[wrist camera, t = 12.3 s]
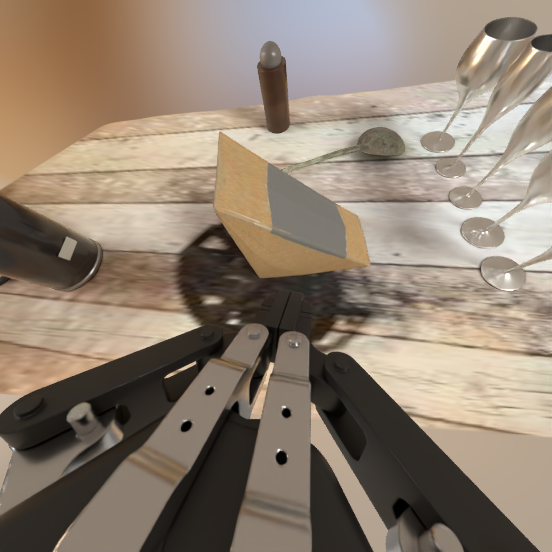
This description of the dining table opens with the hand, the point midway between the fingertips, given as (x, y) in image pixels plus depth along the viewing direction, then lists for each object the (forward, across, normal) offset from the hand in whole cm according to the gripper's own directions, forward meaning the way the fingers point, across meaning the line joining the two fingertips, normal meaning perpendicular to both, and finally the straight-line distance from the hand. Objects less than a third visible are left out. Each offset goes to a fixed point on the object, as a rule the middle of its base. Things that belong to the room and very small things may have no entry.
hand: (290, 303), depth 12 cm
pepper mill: (+36, +10, -17) cm, 41 cm away
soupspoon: (+29, -2, -10) cm, 31 cm away
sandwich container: (+18, 0, +2) cm, 18 cm away
